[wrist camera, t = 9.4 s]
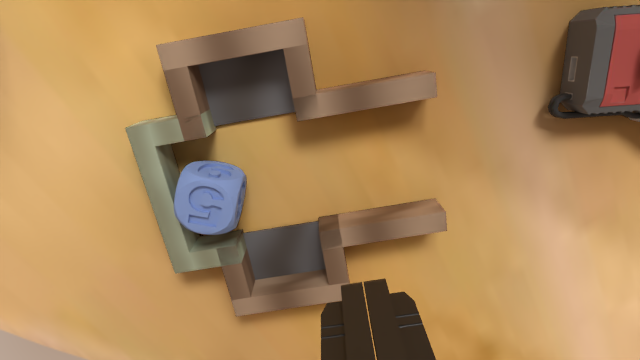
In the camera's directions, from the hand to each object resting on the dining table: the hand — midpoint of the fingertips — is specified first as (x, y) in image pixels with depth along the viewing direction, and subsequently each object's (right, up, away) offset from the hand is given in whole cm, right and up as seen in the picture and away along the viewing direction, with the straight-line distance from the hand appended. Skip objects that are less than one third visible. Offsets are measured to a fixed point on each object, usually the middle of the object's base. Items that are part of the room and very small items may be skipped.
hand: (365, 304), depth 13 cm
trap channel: (-3, +5, +16) cm, 17 cm away
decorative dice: (-9, +4, +16) cm, 19 cm away
